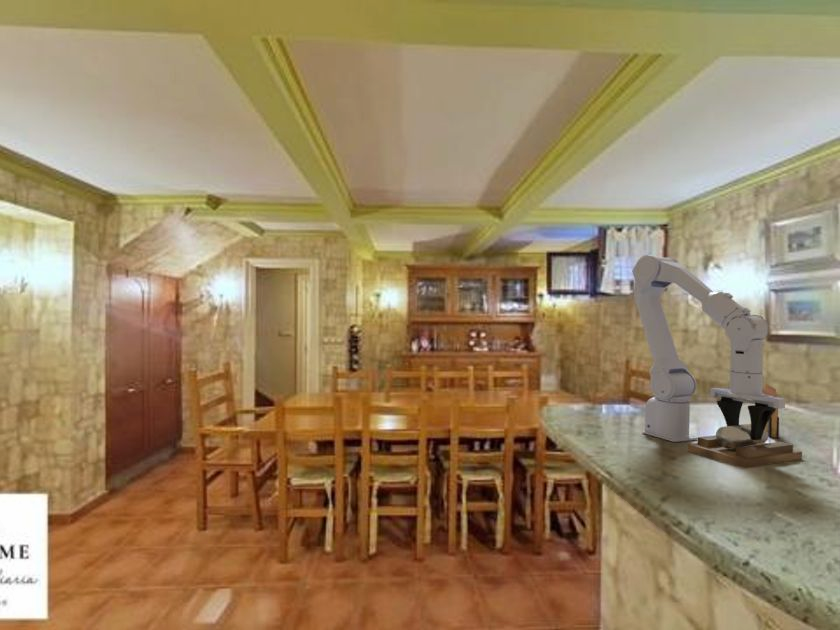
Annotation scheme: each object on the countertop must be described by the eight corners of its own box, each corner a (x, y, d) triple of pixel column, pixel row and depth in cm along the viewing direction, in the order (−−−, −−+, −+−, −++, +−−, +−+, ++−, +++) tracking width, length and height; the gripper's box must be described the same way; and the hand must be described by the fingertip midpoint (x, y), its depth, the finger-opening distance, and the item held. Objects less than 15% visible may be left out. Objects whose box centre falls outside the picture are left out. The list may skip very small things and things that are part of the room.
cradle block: (688, 451, 106) (688, 437, 106) (744, 444, 113) (744, 431, 113) (744, 468, 95) (744, 452, 94) (801, 459, 102) (802, 444, 101)
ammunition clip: (778, 438, 119) (780, 389, 118) (769, 437, 119) (770, 388, 119) (768, 429, 128) (769, 383, 128) (760, 428, 129) (761, 383, 129)
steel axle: (711, 432, 104) (727, 422, 101) (743, 428, 108) (759, 419, 105) (724, 452, 102) (740, 442, 98) (756, 447, 105) (772, 438, 102)
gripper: (701, 368, 109) (699, 430, 109) (769, 377, 95) (768, 447, 95) (723, 367, 111) (721, 427, 111) (792, 376, 98) (790, 444, 98)
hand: (744, 436), depth 104 cm, fingers closed on steel axle, 4 cm apart
